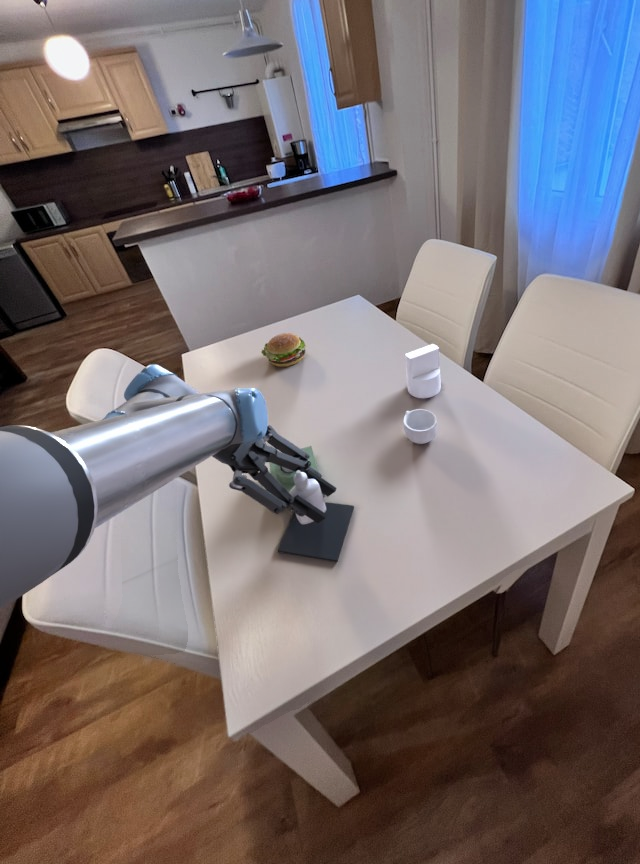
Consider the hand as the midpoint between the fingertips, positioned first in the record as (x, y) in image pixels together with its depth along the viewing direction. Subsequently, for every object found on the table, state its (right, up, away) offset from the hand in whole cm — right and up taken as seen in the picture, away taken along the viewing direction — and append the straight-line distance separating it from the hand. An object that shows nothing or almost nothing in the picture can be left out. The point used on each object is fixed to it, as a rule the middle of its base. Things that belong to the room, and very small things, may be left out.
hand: (327, 505), depth 73 cm
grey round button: (-9, +5, +13) cm, 16 cm away
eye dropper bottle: (-3, -3, +3) cm, 5 cm away
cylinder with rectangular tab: (+24, +21, +38) cm, 49 cm away
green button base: (-8, 0, +16) cm, 18 cm away
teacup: (+20, +10, +23) cm, 32 cm away
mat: (-2, -6, +6) cm, 9 cm away
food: (-19, +30, +61) cm, 71 cm away
